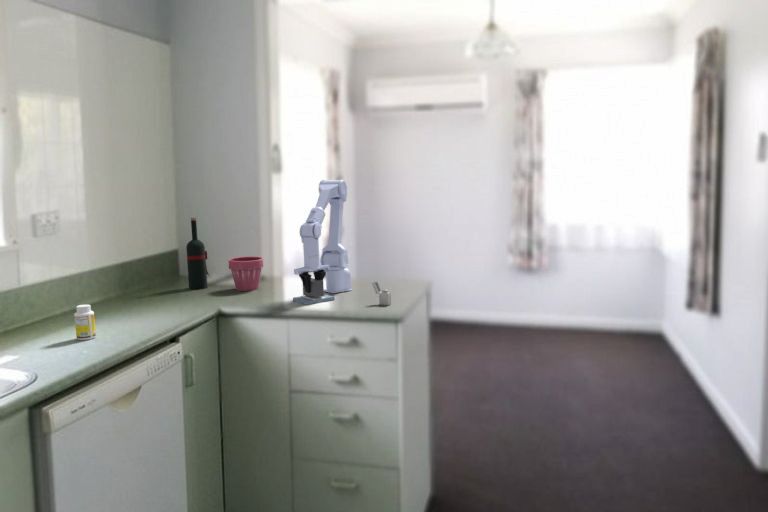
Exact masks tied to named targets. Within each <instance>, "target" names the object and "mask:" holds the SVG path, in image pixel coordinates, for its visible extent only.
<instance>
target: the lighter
mask: <svg viewBox="0 0 768 512" xmlns="http://www.w3.org/2000/svg"><path fill="white" fill-rule="evenodd" d="M371 285H372V288H373V289H374V293H375V294H376V295H377V294H378V302H379V303H378V305H382V306H391V305H392V296H391V292H389V290H388V289H381V286H380V285H379V282H378V280H377V281H374V282H372V283H371Z"/></svg>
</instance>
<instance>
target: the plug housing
mask: <svg viewBox="0 0 768 512" xmlns="http://www.w3.org/2000/svg"><path fill="white" fill-rule="evenodd" d="M324 289H325V288H324V279H323V280H319V279H315V277H314V278H313V277H311V281H310V293H308V292H306V290H305V287H304V284H303V283H302V296H309V297H313V298H317V297H323V296H324V294H325V293H324V292H325V291H324Z"/></svg>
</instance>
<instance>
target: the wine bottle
mask: <svg viewBox="0 0 768 512" xmlns="http://www.w3.org/2000/svg"><path fill="white" fill-rule="evenodd" d="M190 226H191V240H190V241H188V242H187V244H186V246H185V248H186V262H187V264H186V265H187V279H188V290H193V291H194V290H204V289H208V276H209V275H210V273H209V271H208V269H207V268H208V267H207V262H206V261H207V260H208V252H207V250H205V247H206V246H205V243H204V242H202V240H200V239H198V227H197V226H198V225H197V217H196V216H195V217H192V216H191V217H190Z"/></svg>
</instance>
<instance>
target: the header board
mask: <svg viewBox="0 0 768 512" xmlns="http://www.w3.org/2000/svg"><path fill="white" fill-rule="evenodd" d="M334 300H335V296H334V295H330V294H325V293H324V296H323V297H317V298H313V297H309V296H305V295H302V296H295V297H292V301H293V302H297V303H299V304H303V305H306V306H307V305H313V304H319V303H324V302H329V301H334Z"/></svg>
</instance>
